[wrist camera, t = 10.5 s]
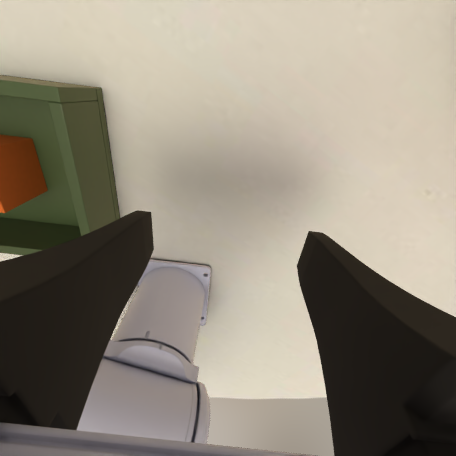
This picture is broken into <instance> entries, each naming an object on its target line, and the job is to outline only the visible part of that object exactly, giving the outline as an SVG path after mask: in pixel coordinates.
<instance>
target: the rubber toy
mask: <svg viewBox="0 0 456 456" xmlns="http://www.w3.org/2000/svg"><path fill="white" fill-rule="evenodd" d="M46 191H48V189H47V186H46V182H45V179H44V176H43V173H42V169H41V166H40V163H39V159H38V156H37V153H36V149H35V146H34V143H33V139H32V138H24V137H16V136H8V135H0V213H6V212H8V211H10V210H12V209H14V208H16V207H18V206H19V205H21V204H23V203H25V202H27V201H29V200H31V199H33V198H35V197H37V196H39V195H41V194H43V193H44V192H46Z"/></svg>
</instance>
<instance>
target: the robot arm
mask: <svg viewBox="0 0 456 456" xmlns="http://www.w3.org/2000/svg"><path fill="white" fill-rule="evenodd" d="M153 249H154V247H153V232H152V218H151V212H145V211H135V212H133V213H130V214H128V215H126V216H124V217H122V218H120V219H118V220H116V221H114V222H111V223H109V224H107V225H105V226H103V227H101V228H99V229H97V230H94V231H92V232H90V233H87V234H85V235H83V236H80V237H78V238H76V239H73V240H71V241H68V242H65V243H63V244H60V245H57V246H54V247H51V248H48V249H45V250H42V251H38V252H35V253H31V254H27V255H24V256H20V257H17V258H13V259H9V260H5V261H1V262H0V456H316V455H306V454H296V453H287V452H277V451H268V450H258V449H248V448H239V447H230V446H220V445H211V444H206V443H207V437H208V432H209V424H210V401H209V397H208V394H207V390H206V388H205V385H204V384H203V383H201V382H197V378H198V371H199V367H198V366H195V365H193V361H194V356H195V350H196V344H197V338H198V332H199V326H203V325H205V324H206V317H207V306H208V296H209V285H210V275H211V268H210V267H209V266H205V265H197V264H188V263H179V262H170V261H162V260H153V259H150V257H151V255H152V252H153ZM297 269H298V276H299V282H300V286H301V290H302V293H303V296H304V300H305V303H306V306H307V309H308V312H309V316H310V319H311V322H312V325H313V328H314V332H315V336H316V339H317V344H318V349H319V354H320V359H321V364H322V370H323V376H324V381H325V387H326V394H327V400H328V407H329V414H330V421H331V430H332V438H333V446H334V455H335V456H456V317H454V316H452V315H450V314H448V313H446V312H444V311H442V310H440V309H438V308H436V307H434V306H432V305H430V304H428V303H426V302H424V301H422V300H420V299H419V298H417V297H415V296H413V295H411V294H410V293H408V292H406V291H405V290H403V289H401V288H400V287H398V286H396V285H395V284H393V283H391V282H390V281H388V280H387V279H385V278H384V277H382V276H381V275H379V274H378V273H376V272H375V271H373V270H372V269H370V268H369V267H368V266H366V265H365V264H363V263H362V262H361V261H359V260H358V259H357V258H355V257H354V256H353V255H352V254H350V253H349V252H348V251H346V250H345V249H344V248H342V247H341V246H340V245H339V244H337V243H336V242H335V241H333V240H332V239H331V238H329V237H328V236H327V235H325V234H323V233H320V232H312V231H309V232H308V235H307V238H306V241H305V244H304V247H303V250H302V253H301V256H300V258H299V261H298V264H297ZM204 273H207V274H204ZM137 284H138V290H137V292H136V294H135V296H134V297H133V299H132V301H131V303H130V305H129V307H128V309H127V311H126V313H125V315H124V317H123V319H122V321H121V323H120V325H119V327H118V329H117V331H116V332H115V334H114V336H113V338H112V340H110V338H111V336H112V333H113V331H114V329H115V326H116V324H117V322H118V319H119V317H120V315H121V313H122V311H123V309H124V307H125V305H126V303H127V302H128V300H129V298H130V296H131V295H132V293H133V291H134V289H135V287H136V286H137Z"/></svg>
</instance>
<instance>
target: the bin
mask: <svg viewBox="0 0 456 456" xmlns="http://www.w3.org/2000/svg"><path fill="white" fill-rule="evenodd" d="M0 135H8V136H16V137H24V138H32V139H33V143H34V146H35V149H36V153H37V156H38V159H39V163H40V166H41V169H42V173H43V176H44V179H45V182H46V186H47V189H48V191H46V192H44V193H43V194H41V195H39V196H37V197H35V198H33V199H31V200H29V201H27V202H25V203H23V204H21V205H19V206H18V207H16V208H14V209H12V210H10V211H8V212H6V213H0V253H8V254H16V255H27V254H31V253H35V252H38V251H42V250H45V249H48V248H51V247H54V246H57V245H60V244H63V243H65V242H68V241H71V240H73V239H76V238H78V237H80V236H83V235H85V234H87V233H90V232H92V231H94V230H97V229H99V228H101V227H103V226H105V225H107V224H109V223H111V222H114V221H116V220H118V219H120V216H119V209H118V202H117V195H116V188H115V181H114V174H113V167H112V160H111V153H110V146H109V139H108V132H107V125H106V118H105V111H104V104H103V97H102V90H101V88H98V87H91V86H83V85H75V84H67V83H59V82H51V81H44V80H36V79H28V78H20V77H12V76H4V75H0Z"/></svg>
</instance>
